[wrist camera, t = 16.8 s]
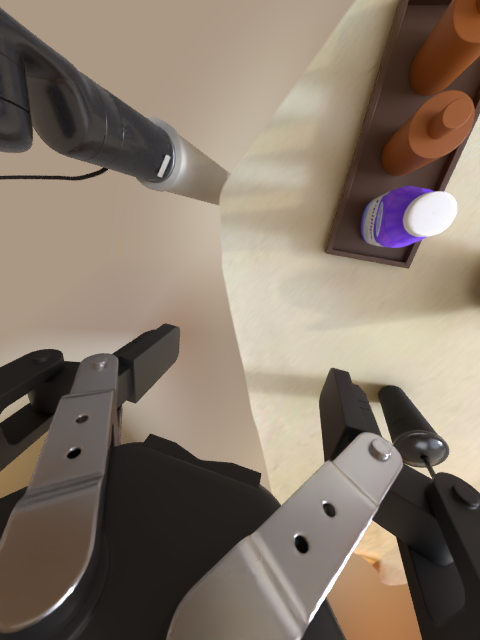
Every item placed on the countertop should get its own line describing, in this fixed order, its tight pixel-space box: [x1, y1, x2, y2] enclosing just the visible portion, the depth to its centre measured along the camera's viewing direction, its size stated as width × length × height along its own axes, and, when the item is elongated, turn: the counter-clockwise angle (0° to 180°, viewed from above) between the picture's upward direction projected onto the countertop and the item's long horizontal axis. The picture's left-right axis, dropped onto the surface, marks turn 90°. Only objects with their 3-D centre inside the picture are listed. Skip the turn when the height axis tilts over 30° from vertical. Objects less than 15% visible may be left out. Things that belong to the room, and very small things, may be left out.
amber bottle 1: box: [409, 0, 480, 96], centre depth 24 cm, size 6×6×13 cm
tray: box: [325, 0, 480, 268], centre depth 33 cm, size 14×32×2 cm, turn 171°
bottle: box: [361, 186, 457, 248], centre depth 30 cm, size 7×6×17 cm
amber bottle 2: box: [381, 90, 475, 176], centre depth 28 cm, size 6×6×13 cm
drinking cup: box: [378, 386, 449, 478], centre depth 40 cm, size 8×8×20 cm
